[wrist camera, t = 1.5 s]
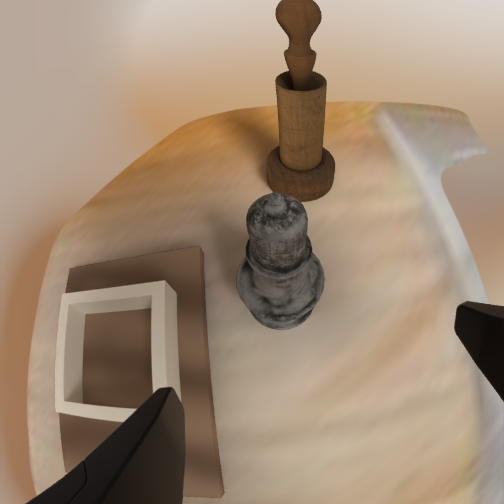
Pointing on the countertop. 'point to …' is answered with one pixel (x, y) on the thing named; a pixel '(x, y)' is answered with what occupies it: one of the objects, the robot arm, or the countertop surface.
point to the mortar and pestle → (300, 111)
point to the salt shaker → (279, 263)
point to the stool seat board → (137, 356)
